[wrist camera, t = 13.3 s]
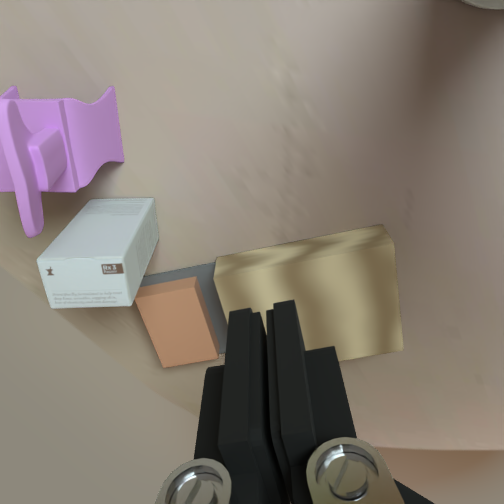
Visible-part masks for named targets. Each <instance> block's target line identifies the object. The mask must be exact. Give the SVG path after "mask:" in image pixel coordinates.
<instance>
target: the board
mask: <svg viewBox="0 0 504 504" xmlns="http://www.w3.org/2000/svg"><path fill="white" fill-rule="evenodd" d="M214 282H215V285H216V289H217V292H218V295H219V298H220V301H221V304H222V308H223V311H224V314H225V317H226V320H227V323H228V318H229V312H230V311H234V310H239V309H245V308H251V309H252V311H253V313H254V312H260V313H261V316H262V320H263V324H264V327H265V331H266V335H267V328H266V310H271V309H273V303H277V302H282V301H288V300H293V299H294V300H295V304H296V308H297V313H298V317H299V322H300V327H301V331H302V336H303V340H304V345H305V349H306V351H307V350H313V349H319V348H324V347H330V346H335V350H336V354H337V358H338V361H343V360H349V359H355V358H361V357H367V356H373V355H379V354H385V353H391V352H396V351H402V350H404V349H403V338H402V327H401V315H400V304H399V293H398V281H397V270H396V259H395V248H394V243H393V241H392V239H391V238H390V236H389V234H388V233H387V231H386V229H385V228H384V226H383V225H382V224H381V225H376V226H371V227H366V228H361V229H356V230H351V231H346V232H341V233H336V234H331V235H326V236H321V237H316V238H311V239H306V240H301V241H296V242H291V243H286V244H281V245H276V246H271V247H266V248H261V249H256V250H251V251H246V252H241V253H236V254H231V255H226V256H221V257H217V259H216V266H215V272H214Z"/></svg>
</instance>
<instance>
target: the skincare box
mask: <svg viewBox="0 0 504 504" xmlns="http://www.w3.org/2000/svg"><path fill="white" fill-rule="evenodd" d="M158 240H159V235H158V226H157V218H156V210H155V200H154V198H126V199H91V200H89V201H88V203H87V204H86V205H85V206H84V207H83V208H82V209H81V210H80V211H79V213H78V214H77V215H76V216H75V217H74V218H73V219H72V220H71V222H70V223H69V224H68V225H67V226H66V227H65V228H64V229H63V231H62V232H61V233H60V234H59V235H58V236H57V237H56V238H55V239H54V240H53V242H52V243H51V244H50V245H49V246H48V247H47V248H46V249H45V251H44V252H43V253H42V254H41V255H40V256H39V257H38V258H37V264H38V268H39V271H40V275H41V278H42V282H43V285H44V288H45V292H46V295H47V298H48V301H49V304H50V307H51V308H52V309H59V308H84V307H117V306H131V305H132V304H133V301H134V299H135V296H136V294H137V291H138V289H139V286H140V284H141V281H142V279H143V276H144V274H145V271H146V269H147V266H148V264H149V261H150V259H151V257H152V254H153V252H154V249H155V247H156V244H157V242H158Z"/></svg>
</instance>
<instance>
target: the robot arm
mask: <svg viewBox="0 0 504 504" xmlns="http://www.w3.org/2000/svg"><path fill="white" fill-rule="evenodd" d="M461 1H463V2H464V3H466V4H469V5H472V6H475V7H478V8H481V9H496V10H499V9H504V0H461ZM266 328H267V335H266V331H265V327H264V324H263V320H262V316H261V313H260V312H254V313H253V311H252V309H251V308H245V309H239V310H234V311H230V312H229V318H228V330H227V342H226V354H225V365H220V366H214V367H208V368H207V370H206V374H205V380H204V388H203V395H202V402H201V409H200V417H199V424H198V431H197V439H196V446H195V454H194V460H191V461H189V462H187V463H185V464H182V465H181V466H179V467H178V468H177V469H176V470H174V471H173V472H172V473H171V474H170V475H169V476H168V478H167V479H166V480H165V481H164V483H163V485H162V487H161V489H160V491H159V493H158V497H157V499H156V502H155V504H434V503H433V502H431V501H429V500H428V499H426V498H424V497H423V496H421V495H419V494H418V493H416V492H415V491H413V490H411V489H410V488H408V487H406V486H405V485H403V484H401V483H400V482H398V481H396V480H395V479H393V478H392V475H391V473H390V471H389V469H388V467H387V465H386V463H385V461H384V459H383V458H382V456H381V455H380V453H379V452H378V450H376V449H375V448H374V447H373V446H371V445H370V444H369V443H367V442H365V441H362V440H360V439H357V436H356V432H355V428H354V424H353V420H352V416H351V411H350V407H349V403H348V399H347V395H346V391H345V387H344V382H343V378H342V374H341V370H340V366H339V362H338V358H337V354H336V350H335V346H330V347H324V348H319V349H313V350H307V351H306V349H305V345H304V340H303V336H302V331H301V327H300V322H299V317H298V313H297V308H296V304H295V300H294V299H293V300H288V301H282V302H277V303H273V309H271V310H266ZM290 501H291V503H290Z"/></svg>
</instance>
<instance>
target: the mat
mask: <svg viewBox="0 0 504 504" xmlns="http://www.w3.org/2000/svg"><path fill="white" fill-rule="evenodd" d="M215 266H216V262H214V263H209V264H204V265H199V266H194V267H189V268H184V269H179V270H174V271H169V272H164V273H159V274H154V275H149V276H144V277H143V279H142V281H141V284H140V286H139V287H144V286H149V285H154V284H159V283H164V282H170V281H175V280H180V279H185V278H190V277H195V276H197V279H198V282H199V285H200V288H201V291H202V294H203V297H204V300H205V303H206V306H207V309H208V312H209V315H210V318H211V321H212V324H213V327H214V330H215V333H216V336H217V339H218V342H219V345H220V348H219V354H220V353H226V342H227V330H228V323H227V320H226V317H225V314H224V311H223V308H222V304H221V301H220V298H219V295H218V292H217V289H216V285H215V282H214V272H215Z"/></svg>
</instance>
